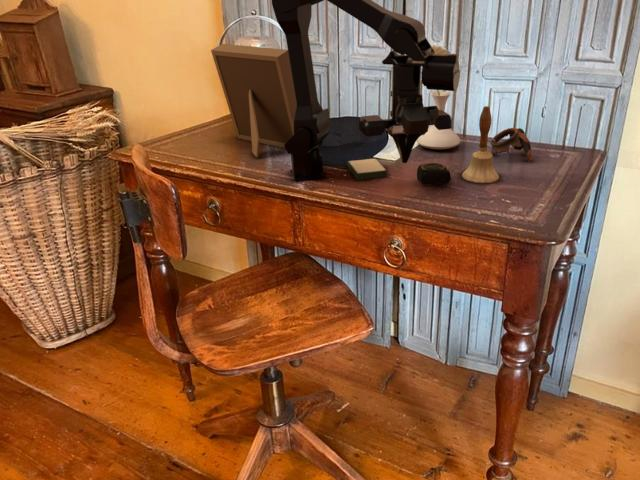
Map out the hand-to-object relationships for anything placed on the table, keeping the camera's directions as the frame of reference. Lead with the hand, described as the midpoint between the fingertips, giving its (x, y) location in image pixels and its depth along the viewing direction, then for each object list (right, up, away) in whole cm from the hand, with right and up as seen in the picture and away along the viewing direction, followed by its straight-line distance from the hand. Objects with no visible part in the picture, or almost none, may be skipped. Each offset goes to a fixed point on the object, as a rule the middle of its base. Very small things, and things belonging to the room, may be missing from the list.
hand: (404, 162), depth 123 cm
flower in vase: (+10, +10, +29) cm, 32 cm away
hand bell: (+18, -2, +8) cm, 20 cm away
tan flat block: (-8, 0, +12) cm, 14 cm away
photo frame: (-36, +10, +30) cm, 48 cm away
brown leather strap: (+29, +5, +21) cm, 36 cm away
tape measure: (+7, -4, +5) cm, 9 cm away
